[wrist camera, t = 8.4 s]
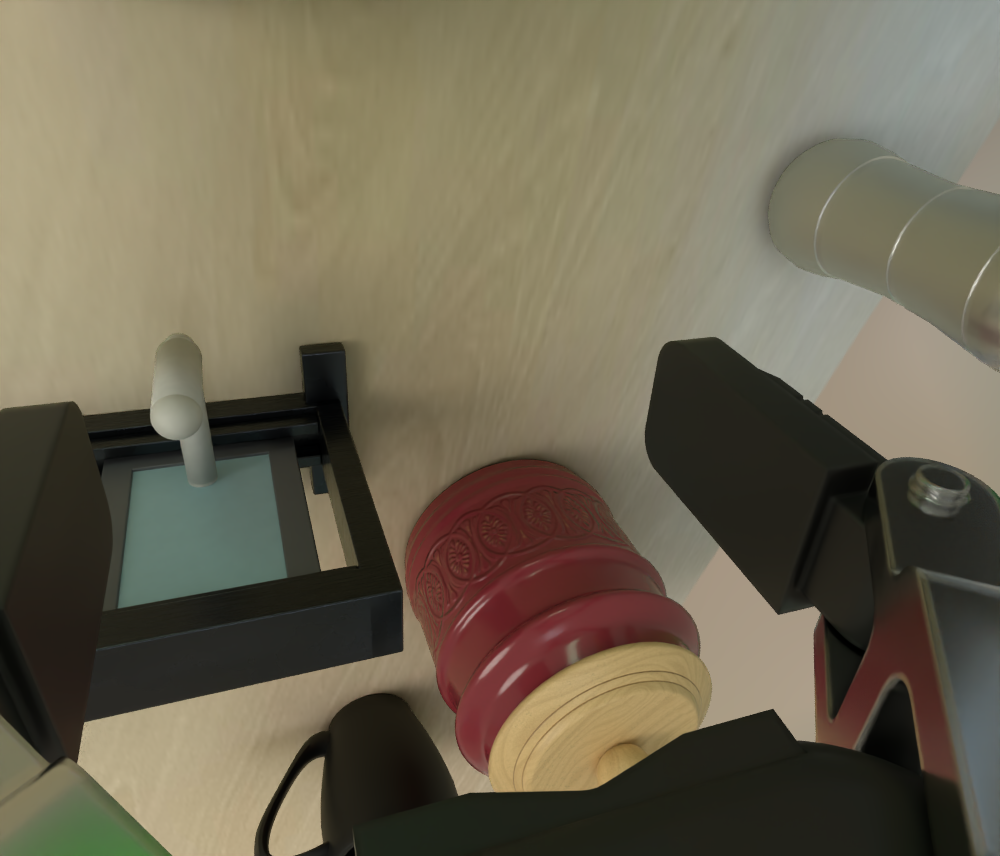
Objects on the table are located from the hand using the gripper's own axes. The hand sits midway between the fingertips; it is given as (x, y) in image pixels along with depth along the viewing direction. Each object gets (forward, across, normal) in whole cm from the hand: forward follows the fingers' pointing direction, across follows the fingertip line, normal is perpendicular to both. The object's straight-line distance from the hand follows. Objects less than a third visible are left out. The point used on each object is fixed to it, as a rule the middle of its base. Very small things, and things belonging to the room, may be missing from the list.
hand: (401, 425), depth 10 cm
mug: (+24, 0, +38) cm, 45 cm away
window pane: (+22, +5, +10) cm, 25 cm away
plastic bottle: (+24, -27, +4) cm, 37 cm away
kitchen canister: (+24, -11, +24) cm, 36 cm away
